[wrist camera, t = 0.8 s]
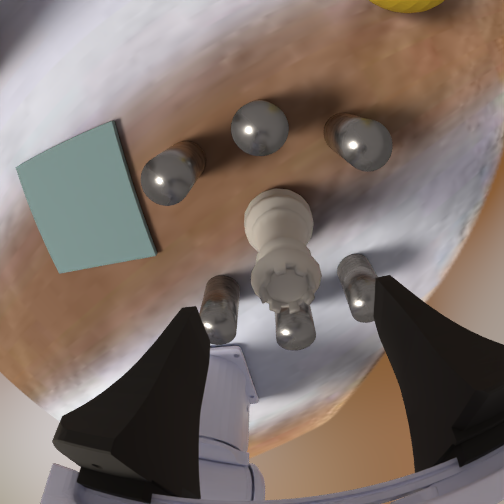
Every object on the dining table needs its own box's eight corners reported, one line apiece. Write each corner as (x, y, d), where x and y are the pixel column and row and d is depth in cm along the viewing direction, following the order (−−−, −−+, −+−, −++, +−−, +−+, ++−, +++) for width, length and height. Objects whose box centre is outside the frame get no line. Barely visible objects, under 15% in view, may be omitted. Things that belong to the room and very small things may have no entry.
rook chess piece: (239, 190, 19) (227, 253, 12) (309, 182, 19) (339, 240, 12) (249, 251, 21) (244, 333, 14) (313, 244, 21) (336, 323, 14)
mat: (157, 253, 21) (155, 255, 21) (61, 271, 22) (59, 273, 22) (114, 120, 16) (111, 121, 16) (18, 166, 18) (15, 167, 17)
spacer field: (368, 294, 23) (385, 333, 19) (216, 318, 24) (209, 360, 20) (357, 88, 15) (386, 88, 11) (155, 124, 17) (126, 135, 13)
